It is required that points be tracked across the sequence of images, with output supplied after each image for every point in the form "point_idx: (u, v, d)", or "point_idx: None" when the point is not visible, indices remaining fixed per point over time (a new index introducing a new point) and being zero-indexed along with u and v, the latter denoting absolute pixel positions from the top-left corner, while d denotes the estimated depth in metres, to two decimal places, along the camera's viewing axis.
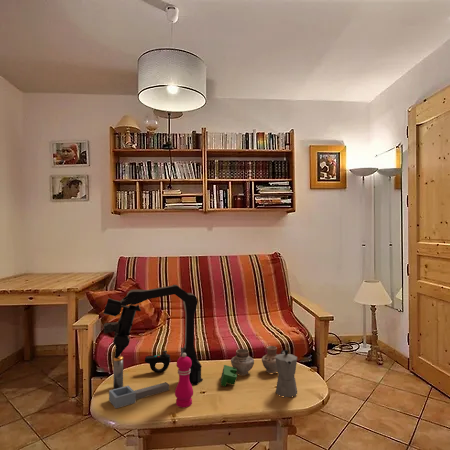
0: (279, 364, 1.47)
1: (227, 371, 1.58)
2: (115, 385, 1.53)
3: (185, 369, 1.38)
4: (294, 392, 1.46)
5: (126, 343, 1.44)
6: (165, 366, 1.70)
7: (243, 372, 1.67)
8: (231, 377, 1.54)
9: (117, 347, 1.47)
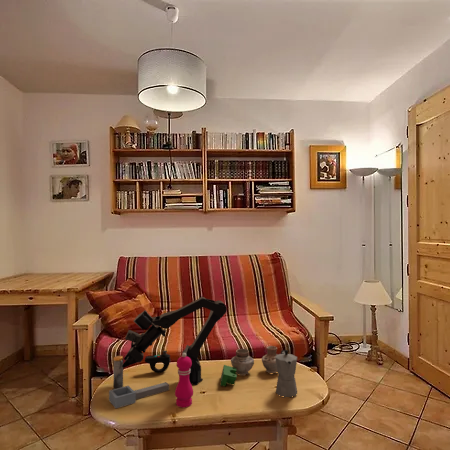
0: (279, 364, 1.47)
1: (227, 371, 1.58)
2: (115, 385, 1.53)
3: (185, 369, 1.38)
4: (294, 392, 1.46)
5: (139, 360, 1.48)
6: (165, 366, 1.70)
7: (243, 372, 1.67)
8: (231, 377, 1.54)
9: (129, 358, 1.50)
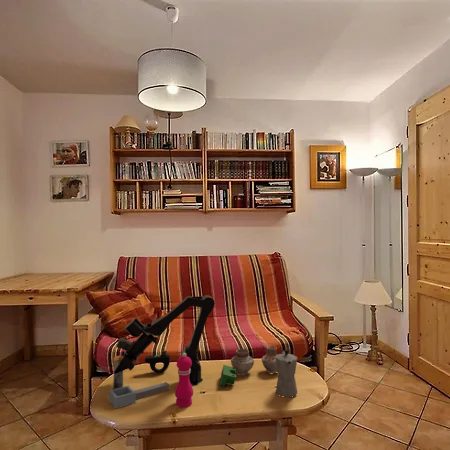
0: (279, 364, 1.47)
1: (226, 371, 1.58)
2: (115, 385, 1.53)
3: (185, 369, 1.38)
4: (294, 392, 1.46)
5: (130, 368, 1.47)
6: (165, 366, 1.70)
7: (243, 372, 1.67)
8: (230, 377, 1.54)
9: (121, 364, 1.52)
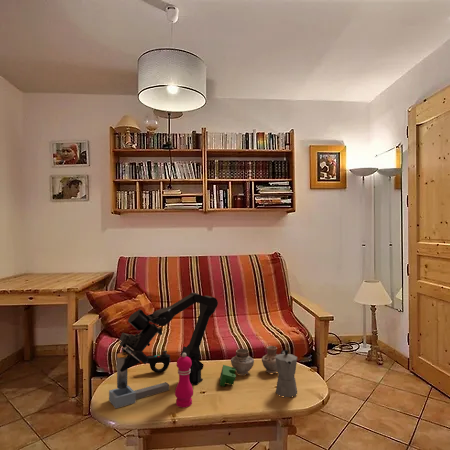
0: (279, 364, 1.47)
1: (226, 371, 1.58)
2: (121, 384, 1.40)
3: (185, 369, 1.38)
4: (294, 392, 1.46)
5: (145, 362, 1.38)
6: (165, 366, 1.70)
7: (243, 372, 1.67)
8: (230, 377, 1.55)
9: (129, 360, 1.40)
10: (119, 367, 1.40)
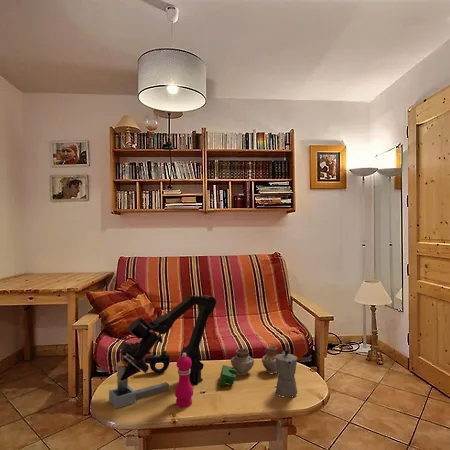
0: (279, 364, 1.47)
1: (226, 371, 1.58)
2: (121, 393, 1.40)
3: (185, 369, 1.38)
4: (294, 392, 1.46)
5: (145, 370, 1.38)
6: (165, 366, 1.70)
7: (243, 372, 1.67)
8: (230, 377, 1.55)
9: (129, 369, 1.40)
10: (119, 376, 1.40)
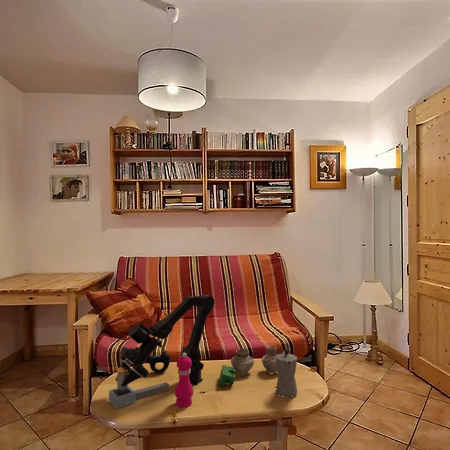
0: (279, 364, 1.47)
1: (225, 371, 1.58)
2: None
3: (185, 369, 1.38)
4: (294, 392, 1.46)
5: (145, 376, 1.38)
6: (165, 366, 1.70)
7: (243, 372, 1.67)
8: (229, 377, 1.55)
9: (130, 375, 1.39)
10: (119, 382, 1.40)
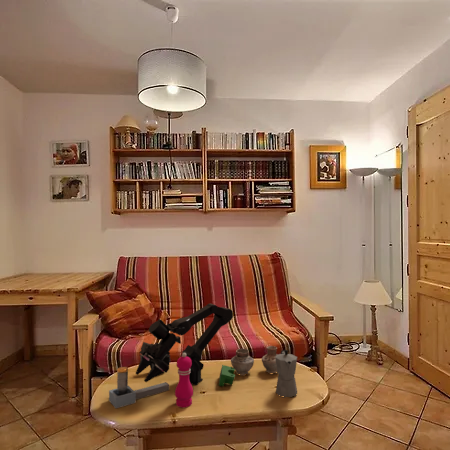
0: (279, 364, 1.47)
1: (225, 371, 1.58)
2: None
3: (185, 369, 1.38)
4: (294, 392, 1.46)
5: (166, 370, 1.43)
6: None
7: (243, 372, 1.67)
8: (229, 377, 1.55)
9: (153, 371, 1.43)
10: (119, 382, 1.40)
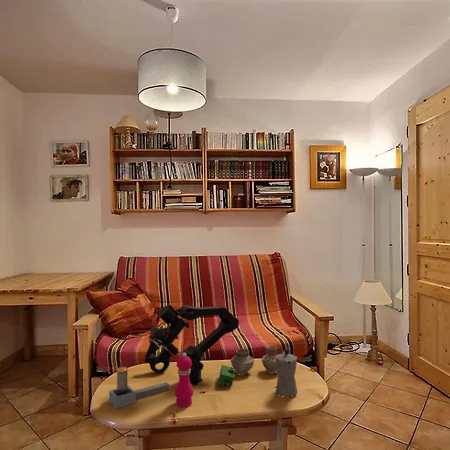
0: (279, 364, 1.47)
1: (225, 371, 1.58)
2: None
3: (185, 369, 1.38)
4: (294, 392, 1.46)
5: (175, 353, 1.46)
6: (165, 366, 1.70)
7: (243, 372, 1.67)
8: (229, 377, 1.55)
9: (162, 354, 1.46)
10: (119, 382, 1.40)
